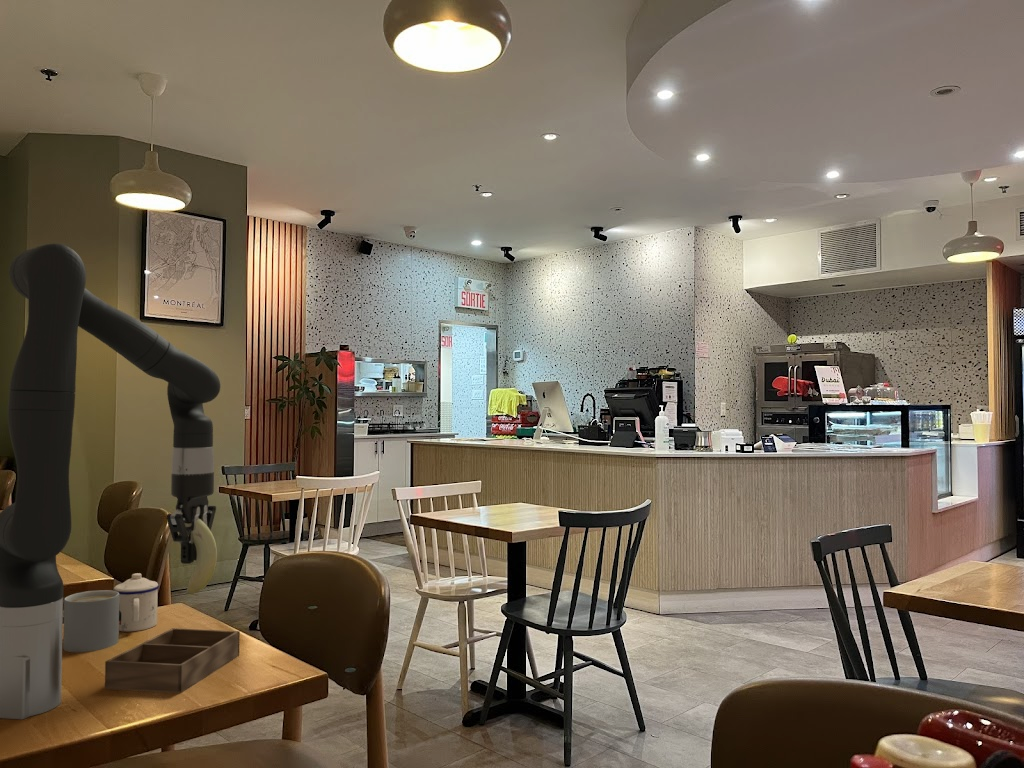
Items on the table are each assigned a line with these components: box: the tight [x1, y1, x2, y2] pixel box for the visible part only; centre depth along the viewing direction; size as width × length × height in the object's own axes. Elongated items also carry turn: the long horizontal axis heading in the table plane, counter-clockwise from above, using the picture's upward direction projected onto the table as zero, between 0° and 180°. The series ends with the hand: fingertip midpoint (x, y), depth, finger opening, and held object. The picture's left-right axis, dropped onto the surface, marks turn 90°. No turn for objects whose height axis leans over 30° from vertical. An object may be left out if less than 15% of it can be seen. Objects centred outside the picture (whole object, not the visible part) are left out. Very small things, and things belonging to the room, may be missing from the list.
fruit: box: [166, 518, 218, 595], centre depth 144 cm, size 7×15×3 cm
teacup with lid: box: [112, 572, 160, 633], centre depth 167 cm, size 12×9×12 cm
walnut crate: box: [104, 628, 241, 694], centre depth 139 cm, size 20×14×5 cm
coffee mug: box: [62, 589, 120, 653], centre depth 157 cm, size 13×10×10 cm
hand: (191, 561), depth 144 cm, fingers closed on fruit, 2 cm apart
